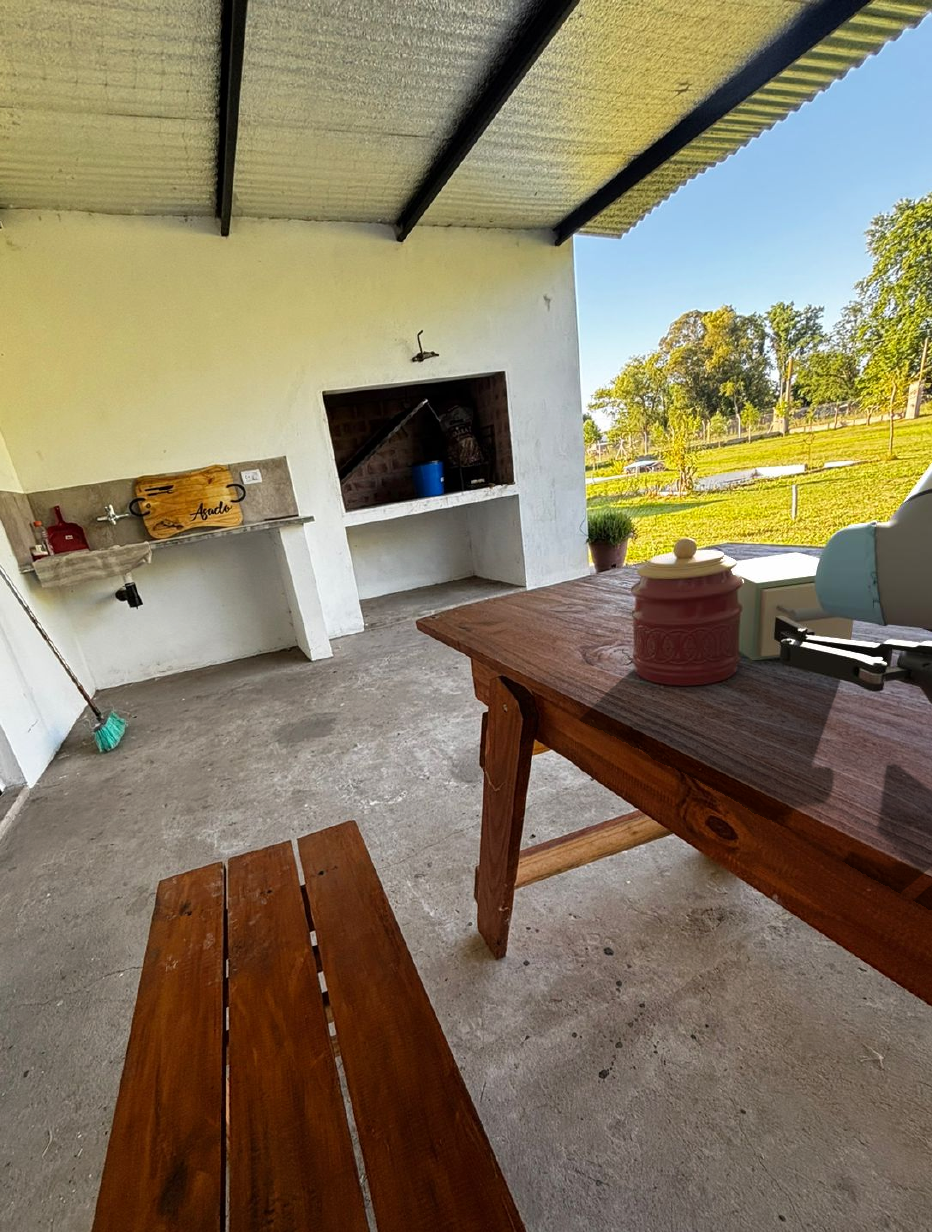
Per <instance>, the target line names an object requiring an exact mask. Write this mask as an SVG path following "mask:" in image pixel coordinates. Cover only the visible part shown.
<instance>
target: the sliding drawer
mask: <svg viewBox="0 0 932 1232" xmlns="http://www.w3.org/2000/svg"><path fill="white" fill-rule="evenodd" d="M778 616H784V617H786V618H788V619H790V620H792V621H794V622H796V623H798V624H800V625H802V626H804V627H806V628H808V629H810V630H812V631H814V632H815V635H814V636H819V637H827V638H836V639H844V640H852V636H853V629H854V628H853V627H854V621H855V620H850V619H845V618H839V617H835V616H832V615H830V614H828V613H827V612H825V611H824V610H823V609H822V608H821V606H820V605H819V603H818V597H817V594H816V592H815V581H813V582H806V583H798V584H791V585H783V586H776V587H768V588H762V591H761V607H760V624H759V641H758V654H759V655H760V656H771V655H780V649H781V646H780V642H778V641H776V640H775V639H774V630H775V617H778Z"/></svg>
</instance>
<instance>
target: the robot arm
mask: <svg viewBox="0 0 932 1232" xmlns="http://www.w3.org/2000/svg"><path fill="white" fill-rule="evenodd" d="M815 592H816V594H817V597H818V603H819V605H820V606H821V608H822V609H823V610H824V611H825V612H827V613H828V614H830V615H832V616H835V617H839V618H845V619H850V620H854V621H857V622H862V623H868V624H874V625H878V626H879V627H888V626H896V627H903V628H904V627H905V628H915V629H916V628H917V629H922V630H925V631H927V632H930V633H932V463H931V464H930V465H929V467H928V468H927V470H926V471H925V472H924V474H923V475H922V476H921V478H920V479H919V480H918V482H917V483H916V484H915V486H914V487H913V488H912V490H911V491H910V493H909V494H908V496H907V497H906V498H905V499H904V501H903V502H902V503H901V504H900V505H899V507H898V508H897V509H896V510H895V512H894V513H893V514H892V516H891V517H890V518H889V520H888V521H886V522H881V521H879V520H871V521H869V522H863V523H856V524H849V525H848V526H846V527H844V528H842V529H838V530H837V531H836V532H834V534H832V536H831V537H830V538H829V539H828V541H827V542H826V544H825V545H824V547H823V549H822V551H821V553H820V556H819V561H818V565H817V569H816V574H815ZM814 635H815V632H814V631H812V630H810V629H808V628H806V627H804V626H802V625H800V624H798V623H796V622H794V621H792V620H790V619H788V618H786V617H784V616H778V617H775V630H774V639H775V640H776V641H778V642H780V646H781V649H780V658H779V664H780V665H782V666H787V667H789V668H790V667H791V668H793V669H798V670H801V671H805V672H809V673H813V674H815V675H821V676H824V677H828V678H832V679H836V680H839V681H842V682H843V681H844V682H848V683H851V684H854V685H856V686H859V687H860V688H863V689H865V690H867V691H870V692H882V691H884V687H885V683H888V682H895V681H898V682H900V683H902V684H905V685H910V686H913V687H917V688H919V689H920V690H921V691H922V692H923V694H924V696H925V697H926V699H927V700H928V702H929V703H930V704H931V705H932V641H931V640H925V641H921V642H916V641H915V642H914V641H905V640H897V639H887V640H885V641H883V642H882V643H876V642H870V641H869V642H868V641H860V640H852V639H851V640H844V639H836V638H827V637H819V636H814ZM894 651H900V652H899V654H898V658H897V662H896V665H892V659H893V652H894Z"/></svg>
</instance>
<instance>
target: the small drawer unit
mask: <svg viewBox="0 0 932 1232" xmlns="http://www.w3.org/2000/svg"><path fill="white" fill-rule="evenodd" d="M819 558H820V557H819ZM819 558H818V557H815V556H811V555H807V554H803V553H800V552H789V553H784V554H783V553H782V554H777V555H769V556H762V557H756V558H755V557H754V558H748V559H741V560H735V561H736V566H735V567H734V568H732V571H733V573H734V574H736V575H738V576H740V577H741V578H742V579H743V581H744V583H743V585H742V586H741V587H740V588H739V589H738V602H739V603H740V604H741V605H742V611H741V613H740V633H739V650H740V654H743V655H744V656H745V657H747V659H749V660H751V661H760V660H770V659H780V655H771V656H760V655H759V654H758V641H759V624H760V607H761V591H762V588H768V587H776V586H783V585H791V584H798V583H806V582H813V581H815V574H816V569H817V565H818V561H819Z"/></svg>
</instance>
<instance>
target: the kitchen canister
mask: <svg viewBox="0 0 932 1232" xmlns="http://www.w3.org/2000/svg"><path fill="white" fill-rule="evenodd" d="M736 561H737V560H735V558H731V557H729V556H727V555H725V553H724V552H722V551H719V550H711V549H698V547H697V543H696V541H695V540H694V539H693V538H689V537H683V538H681V539H678V540H677V541H676V542H675V543H674V546H673V552H669V553H668V552H667V553H664V554H659V555H656V556H653V557H651V558H650V559H648V561H647V562H646V563H644V564H643V565H641V566H640V567H638V568H637V570H636V574H637V575H638V576H640V578H639V580H638V581H636V582H635V583H633V585H632V586H631V588H630V593H631V594H632V595H633V596H634V597H635V600H634V608H633V609H632V610H631V613H630V615H631V617H632V633H633V634H632V635H633V637H632V638H633V651H632V664H633V666H634V671H635V673H636V675H638V676H639V677H641V678H642V679H644V680H647V681H649V682H653V683H656V684H662V685H669V686H682V687H683V686H702V685H708V684H715V683H718V682H722V681H725V680H727V679H728V678H730V677H733V675H735V674H736V672H737V671H738V665H739V663H740V661H741V657H740V656H741V652H740V650H739V633H740V613H741V611H742V605H741V604H740V603H739V602H738V589H739V588H740V587H741V586H742V585H743V583H744V581H743V579H742V578H741V577H740V576H738V575H736V574H734V573H733V571H732V568H734V567H735V566H736Z"/></svg>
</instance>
